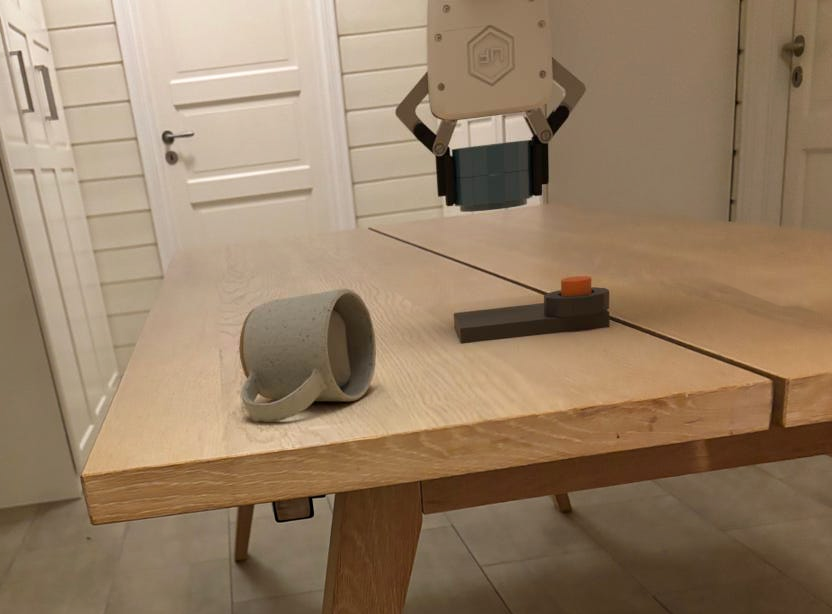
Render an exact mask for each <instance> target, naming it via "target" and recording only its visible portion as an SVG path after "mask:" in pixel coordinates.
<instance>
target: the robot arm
mask: <svg viewBox="0 0 832 614" xmlns="http://www.w3.org/2000/svg"><path fill="white" fill-rule="evenodd" d="M426 14H427V15H426V66H427V67H426V69H427V70H426V72H425V73H424V75H423V76H422V77H421V78H420V79H419V80H418V81H417V83H416V84H415V85H414V86H413V88H411V90H410V91H409V92H408V94H407V95H406V96H405V97H404V98H403V100H402V101H401V102H400V103H399V104H398V105H397V106H396V108H395V111H394V113H395V116H396V119H398V120H399V121H400V123H402V124H403V126H405V128H406V129H407V130H408V131H409V132H410V133H411V134H412V135H413V137H414V138H416V140H418V141H419V142H420V143H421V144H422V145H423V146H424V147H425V148H426V149H427V150H429V152H431V153H432V155H434V156H435V157H434V158H435V172H436V173H435V174H436V189H437V197H438V198H440V197H444V198H445V206H446V207H453V206H454V204H456V201H455V182H454V164H453V156H451V148H450V146H449V145H450V142H451V140H452V136H453V134H454V132H455V129H456V126H457V123H458V121H461V120H470V119H479V118H487V117H495V116H501V115H502V116H503V115H510V114H518V113H521V115H522V118H523V120H524V122H525V123H526V125H527V128H528V130H529V132H530V134H531V135H532V136H531V139H530V140H532V188H533V197H541V196H543V185H549V181H550V170H549V169H550V165H549V164H550V163H549V162H550V161H549V160H550V159H549V143H550V142H551V141H552V140H553V137H554V136H555V135H556V134H557V132H558V131H559V130H560V128H561V127H562V126H563V125H564V123H565V122H567V120H568V118H569V116H570V114H572V112H573V111H574V109H575V108H576V107H577V105H578V103H579V102H580V101H581V99H582V98H583V96H584V95H585V93H586V91H587V87H586V85H585V84H584V83H583V82H582V81H581V80H580V79H579V78H578V77H577V76H576V75H574V74H573V73H572V72H570V71H569V70H568V69H567V68H566V67H565V66H563V64H561V63H560V62H559V61H558V60H557V59H555V58H554V57H553V55H552V54H553V53H552V37H551V25H550V13H549V3H548V0H427V9H426ZM553 84H554V85H555V86H557V87H558V88H559V89H560V90H561V91H562V97H561V99H560V100H559V102H558V103H557V105H556V106H555V108H553V110H552V111H551V112H550V114H549V115H548V116H547V118H546V117H545V114H544V112H543V110H542V108H541V107H544V106H545V105H546V104H548V103H549V102H550V100H551V98H552V95H553V89H554V88H553V86H554V85H553ZM427 96H428V102H429V109H430V113H431V115H432V116H433V118H436V119H438V120H440V122H439V125H438V127H437V130H436V133H435V132H434V131H433V130H432V129H431V128H429V127H428V126H427V125H426V124H425V123H424V122H423V121H422V120H421V118H420V117H419V116H418V115H417V113H416V109H417V108H418V106H419V105H420V104H421V103H422V102H423V100H424V99H425V98H426V97H427Z"/></svg>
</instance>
